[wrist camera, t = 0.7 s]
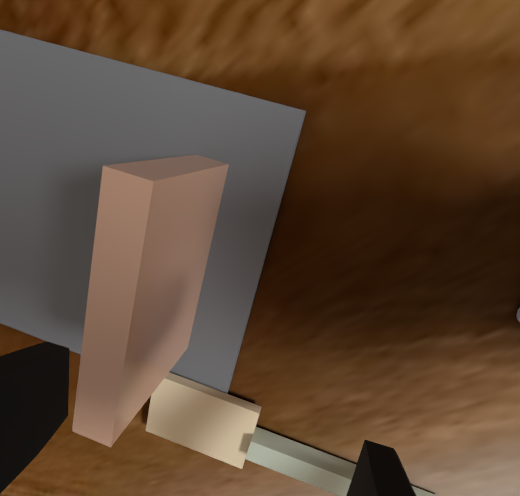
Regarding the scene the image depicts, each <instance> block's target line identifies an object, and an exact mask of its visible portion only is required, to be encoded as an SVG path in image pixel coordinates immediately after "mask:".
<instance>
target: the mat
mask: <svg viewBox="0 0 520 496" xmlns="http://www.w3.org/2000/svg"><path fill="white" fill-rule="evenodd" d="M305 114H306V111H304V110H300V109H296V108H293V107H289V106H285V105H281V104H278V103H274V102H270V101H266V100H263V99H259V98H255V97H251V96H248V95H244V94H240V93H236V92H233V91H229V90H225V89H221V88H218V87H214V86H210V85H206V84H203V83H199V82H195V81H191V80H187V79H184V78H180V77H176V76H172V75H169V74H165V73H161V72H157V71H154V70H150V69H146V68H142V67H139V66H135V65H131V64H127V63H124V62H120V61H116V60H112V59H109V58H105V57H101V56H97V55H94V54H90V53H86V52H82V51H79V50H75V49H71V48H67V47H64V46H60V45H56V44H52V43H49V42H45V41H41V40H37V39H33V38H30V37H26V36H22V35H18V34H15V33H11V32H7V31H3V30H0V323H1V324H4V325H6V326H9V327H11V328H14V329H17V330H19V331H22V332H24V333H27V334H29V335H32V336H35V337H37V338H40V339H42V340H45V341H47V342H51V343H54V344H57V345H61V346H64V347H67V348H69V350H70V351H73V352H76V353H78V354H81V350H82V342H83V333H84V324H85V316H86V307H87V298H88V290H89V281H90V273H91V264H92V255H93V247H94V238H95V229H96V221H97V212H98V204H99V195H100V186H101V178H102V169H103V166H104V165H113V164H121V163H129V162H138V161H146V160H155V159H163V158H171V157H180V156H188V155H199V156H203V157H206V158H210V159H213V160H216V161H220V162H223V163H227V164H229V166H228V170H227V175H226V179H225V184H224V188H223V193H222V197H221V201H220V206H219V210H218V215H217V219H216V224H215V228H214V233H213V237H212V242H211V246H210V251H209V255H208V259H207V264H206V268H205V273H204V277H203V282H202V286H201V291H200V295H199V300H198V304H197V308H196V313H195V317H194V322H193V326H192V331H191V335H190V340H189V344H188V348H187V349H186V351H185V352H184V353H183V355H182V356H181V357H180V358H179V360H178V361H177V362H176V364H175V365H174V366H173V368H172V369H171V370H170V371H169V372H170V373H173V374H175V375H178V376H181V377H183V378H186V379H189V380H191V381H194V382H197V383H199V384H202V385H205V386H207V387H210V388H213V389H215V390H218V391H221V392H224V393H226V394H228V391H229V387H230V383H231V380H232V376H233V373H234V369H235V365H236V362H237V358H238V355H239V351H240V347H241V344H242V340H243V337H244V333H245V329H246V326H247V322H248V319H249V315H250V312H251V308H252V304H253V301H254V297H255V294H256V290H257V286H258V283H259V279H260V276H261V272H262V268H263V265H264V261H265V258H266V254H267V250H268V247H269V243H270V240H271V236H272V233H273V229H274V225H275V222H276V218H277V215H278V211H279V207H280V204H281V200H282V197H283V193H284V189H285V186H286V182H287V179H288V175H289V171H290V168H291V164H292V161H293V157H294V154H295V150H296V146H297V143H298V139H299V136H300V132H301V128H302V125H303V121H304V118H305Z"/></svg>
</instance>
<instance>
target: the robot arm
mask: <svg viewBox="0 0 520 496" xmlns="http://www.w3.org/2000/svg"><path fill="white" fill-rule="evenodd" d="M516 316H517V320H518V321H519V322H520V307H519V309H518V311H517V315H516ZM68 388H69V348H67V347H64V346H61V345H57V344H54V343H51V342H44V343H41V344H37V345H34V346H30V347H27V348H24V349H21V350H18V351H15V352H12V353H9V354H6V355H3V356H0V493H1V492H2V491H3V490H4V489H5V488H6V487H7V486H8V485H9V484H10V483H11V482H12V481H13V480H14V479H15V478H16V477H17V476H18V475H19V474H20V473H21V471H22V470H23V469H24V468H25V467H26V466H27V465H28V464H29V463H30V462H31V461H32V460H33V459H34V458H35V457H36V456H37V455H38V453H39V452H40V451H41V450H42V448H43V447H44V446H45V445H46V443H47V442H48V441H49V440H50V438H51V437H52V436H53V435H54V433H55V432H56V431H57V429H58V428H59V427H60V425H61V424H62V423H63V421H64V420H65V419H66V417H67V416H68ZM346 496H416V494H415V492H414V490H413V487H412V485H411V483H410V481H409V479H408V477H407V475H406V472H405V470H404V468H403V466H402V464H401V461H400V459H399V457H398V455H397V453H396V451H395V450H394V449H393V448H390V447H387V446H384V445H380V444H377V443H374V442H371V441H368V440H365V441H364V444H363V447H362V450H361V453H360V456H359V459H358V462H357V465H356V468H355V471H354V474H353V477H352V480H351V483H350V486H349V489H348V492H347V495H346Z"/></svg>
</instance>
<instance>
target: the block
mask: <svg viewBox="0 0 520 496" xmlns="http://www.w3.org/2000/svg"><path fill="white" fill-rule="evenodd" d="M228 166H229V164H227V163H223V162H220V161H216V160H213V159H210V158H206V157H203V156H199V155H188V156H180V157H171V158H163V159H155V160H146V161H138V162H129V163H121V164H113V165H104V166H103V169H102V178H101V186H100V195H99V204H98V212H97V221H96V229H95V238H94V247H93V255H92V264H91V273H90V281H89V290H88V298H87V307H86V316H85V324H84V333H83V342H82V350H81V359H80V367H79V376H78V385H77V393H76V402H75V411H74V419H73V428H72V431H73V432H76V433H78V434H80V435H83V436H85V437H87V438H90V439H92V440H94V441H97V442H99V443H102V444H104V445H106V446H109V447H111V446H112V445H113V444H114V442H115V441H116V440H117V438H118V437H119V436H120V434H121V433H122V432H123V431H124V429H125V428H126V427H127V425H128V424H129V423H130V422H131V420H132V419H133V418H134V416H135V415H136V414H137V413H138V411H139V410H140V409H141V407H142V406H143V405H144V404H145V402H146V401H147V400H148V398H149V397H150V396H151V395H152V393H153V392H154V391H155V389H156V388H157V387H158V386H159V384H160V383H161V382H162V380H163V379H164V378H165V377H166V375H167V374H168V373H169V371H170V370H171V369H172V368H173V366H174V365H175V364H176V362H177V361H178V360H179V358H180V357H181V356H182V355H183V353H184V352H185V351H186V349H187V348H188V344H189V340H190V335H191V331H192V326H193V322H194V317H195V313H196V308H197V304H198V300H199V295H200V291H201V286H202V282H203V277H204V273H205V268H206V264H207V259H208V255H209V251H210V246H211V242H212V237H213V233H214V228H215V224H216V219H217V215H218V210H219V206H220V201H221V197H222V193H223V188H224V184H225V179H226V175H227V170H228Z"/></svg>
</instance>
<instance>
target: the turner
mask: <svg viewBox="0 0 520 496" xmlns="http://www.w3.org/2000/svg"><path fill="white" fill-rule="evenodd" d="M261 408H262V407H261V406H258V405H256V404H253V403H250V402H248V401H245V400H242V399H240V398H237V397H234V396H232V395H229V394H226V393H224V392H221V391H218V390H215V389H213V388H210V387H207V386H205V385H202V384H199V383H197V382H194V381H191V380H189V379H186V378H183V377H181V376H178V375H175V374H173V373H170V372H169V373H168V374H167V375H166V377H165V378H164V379H163V380H162V382H161V383H160V384H159V386H158V387H157V388H156V389H155V391H154V392H153V393H152V395H151V400H150V406H149V413H148V419H147V426H146V431H147V432H150V433H153V434H155V435H158V436H160V437H163V438H165V439H168V440H170V441H173V442H175V443H178V444H180V445H183V446H185V447H188V448H190V449H193V450H195V451H198V452H200V453H203V454H205V455H208V456H211V457H213V458H216V459H218V460H221V461H223V462H226V463H228V464H231V465H233V466H236V467H238V468H241V469H242V467H243V464H244V461H245V459H247V460H249V461H252V462H254V463H257V464H259V465H262V466H264V467H267V468H270V469H272V470H275V471H277V472H280V473H282V474H285V475H287V476H290V477H292V478H295V479H298V480H300V481H303V482H305V483H308V484H310V485H313V486H315V487H318V488H320V489H323V490H326V491H328V492H331V493H333V494H336V495H338V496H346V495H347V492H348V489H349V486H350V483H351V480H352V477H353V474H354V471H355V468H356V464H353V463H350V462H348V461H345V460H343V459H340V458H337V457H335V456H332V455H329V454H327V453H324V452H322V451H319V450H316V449H314V448H311V447H308V446H306V445H303V444H300V443H298V442H295V441H293V440H290V439H287V438H285V437H282V436H279V435H277V434H274V433H272V432H269V431H266V430H264V429H261V428H258V427H256V424H257V420H258V417H259V414H260V411H261ZM412 487H413V490H414V492H415V494H416V496H437V495H435V494H432V493H429V492H427V491H424V490H422V489H419V488H416V487H414V486H412Z"/></svg>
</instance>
